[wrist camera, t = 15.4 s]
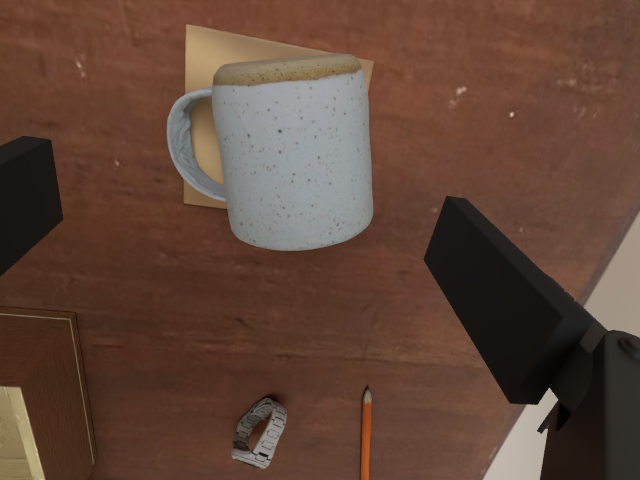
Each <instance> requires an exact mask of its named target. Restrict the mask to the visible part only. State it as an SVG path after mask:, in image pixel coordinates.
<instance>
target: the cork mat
mask: <svg viewBox="0 0 640 480" xmlns="http://www.w3.org/2000/svg"><path fill="white" fill-rule="evenodd" d="M329 54H339V53H334V52H329V51H324V50H319V49H314V48H309V47H304V46H298V45H293V44H288V43H283V42H278V41H273V40H268V39H263V38H258V37H253V36H248V35H243V34H238V33H233V32H228V31H223V30H218V29H213V28H208V27H203V26H198V25H193V24H186V50H185V95H186V94H187V93H189V92H191V91H194V90H197V89H201V88H205V87H210V86H212V84H213V77H214V75H215V73H216V72H217V70H218V69H219V67H221V66H223V65H224V64H229V63H238V62H246V61H257V60H266V59H279V58H289V57H301V56H315V55H329ZM355 58H356V59H357V60H358V61H359V63H360V64H361V66H362V69H363V71H364V78H365V84H366V88H367V93H368V89H369V84H370V80H371V76H372V71H373V67H374V61H373V60H369V59H364V58H359V57H355ZM189 116H190V120H191V123H192V125H191V128H190V131H191V140H192V148H193V154H194V158H195V159H196V161H197V164H198V165H199V167H200V168H201V169H202V170H203V171H204V172H205V174H206V175H208V176H209V177H210V178H211V179H213V180H214V181H216V182H218V183H220V184H223V185H224V180H223V173H222V165H221V157H220V150H219V144H218V139H217V134H216V129H215V123H214V117H213V108H212V96H211V97H206V98H203V99H201V100H199V101H198V102H197V104H196V105H195V106H194V107H193V108H192V110H191V112H190V115H189ZM184 204H192V205H199V206H207V207H215V208H223V209H227V203H226V202H223V201H219V200H216V199H213V198H210V197H208V196H206V195H204V194H202V193H200V192H199V191H197V190H196V189H195V188H193V187H192V186H191V185H190V184H188V183H187V181H186V180H185V179H184Z"/></svg>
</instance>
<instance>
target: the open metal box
mask: <svg viewBox="0 0 640 480" xmlns="http://www.w3.org/2000/svg"><path fill="white" fill-rule="evenodd" d="M96 459H97V453H96V446H95V439H94V433H93V426H92V420H91V413H90V407H89V400H88V394H87V387H86V381H85V374H84V367H83V361H82V354H81V348H80V341H79V335H78V328H77V322H76V315H75V313H73V312H61V311H48V310H36V309H23V308H11V307H0V480H88V477H89V475H90V473H91V470H92V468H93V466H94V463H95V461H96Z"/></svg>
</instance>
